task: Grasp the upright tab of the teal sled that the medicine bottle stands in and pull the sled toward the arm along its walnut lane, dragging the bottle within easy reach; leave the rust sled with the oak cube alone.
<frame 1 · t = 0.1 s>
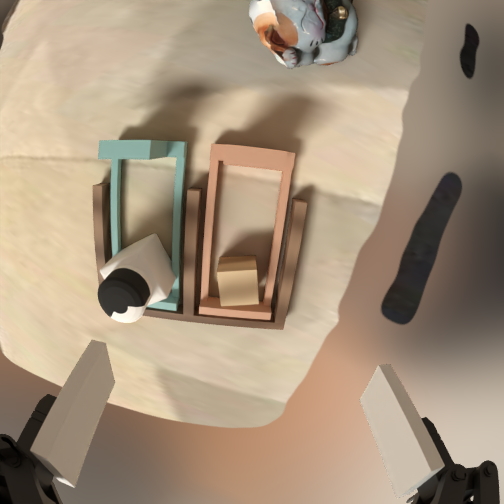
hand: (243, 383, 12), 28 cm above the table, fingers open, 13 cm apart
oak cube: (238, 272, 41), resting in sled b
lucky cat figurine: (302, 32, 29), on the table
sled a: (135, 233, 33), point 5 cm above the table, slide at 0.0 cm, touching medicine bottle
sled b: (243, 244, 34), point 5 cm above the table, slide at 0.0 cm
medicine bottle: (148, 261, 40), resting in sled a
lane rails: (147, 247, 39), on the table
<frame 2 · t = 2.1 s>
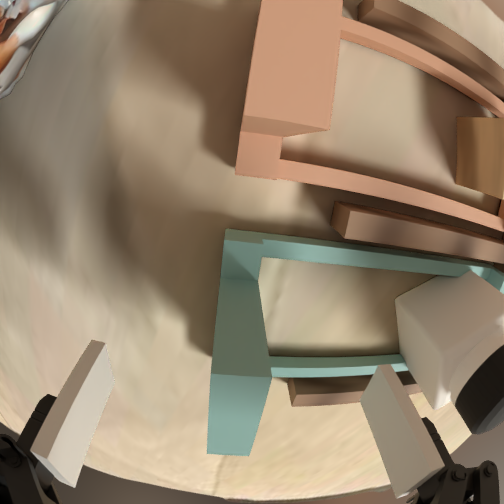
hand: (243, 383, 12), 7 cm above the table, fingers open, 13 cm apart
oak cube: (476, 154, 15), resting in sled b
lucky cat figurine: (24, 38, 10), on the table
sled a: (404, 352, 15), point 5 cm above the table, slide at 0.1 cm, touching medicine bottle
sled b: (472, 130, 10), point 5 cm above the table, slide at 0.0 cm
medicine bottle: (429, 310, 20), resting in sled a
lane rails: (412, 312, 20), on the table
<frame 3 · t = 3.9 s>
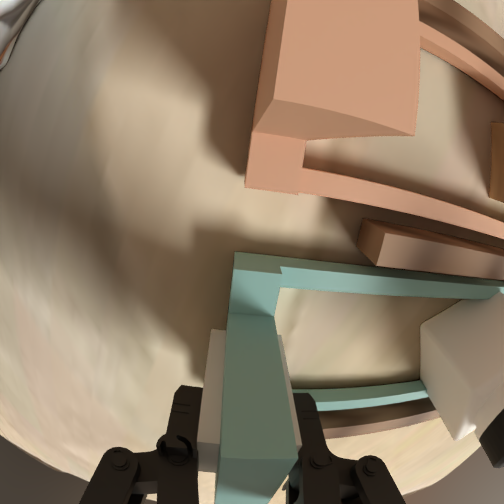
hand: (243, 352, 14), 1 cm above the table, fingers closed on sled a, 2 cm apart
lucky cat figurine: (11, 23, 8), on the table
sled a: (433, 388, 12), point 5 cm above the table, slide at 0.0 cm, touching gripper, medicine bottle
medicine bottle: (453, 333, 17), resting in sled a
lane rails: (436, 338, 17), on the table
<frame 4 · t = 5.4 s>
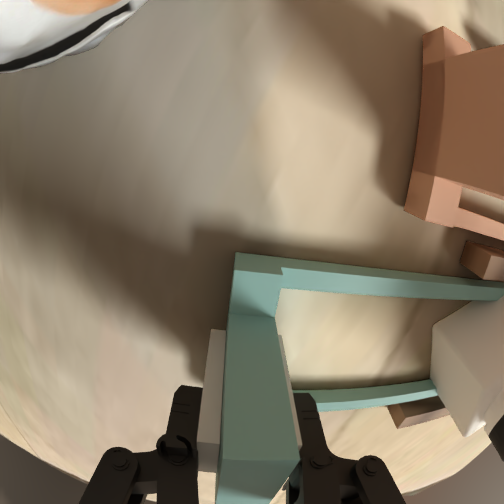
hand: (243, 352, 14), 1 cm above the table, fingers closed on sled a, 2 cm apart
sled a: (432, 389, 12), point 5 cm above the table, slide at 8.1 cm, touching gripper, medicine bottle
medicine bottle: (462, 334, 17), resting in sled a
lane rails: (491, 333, 17), on the table
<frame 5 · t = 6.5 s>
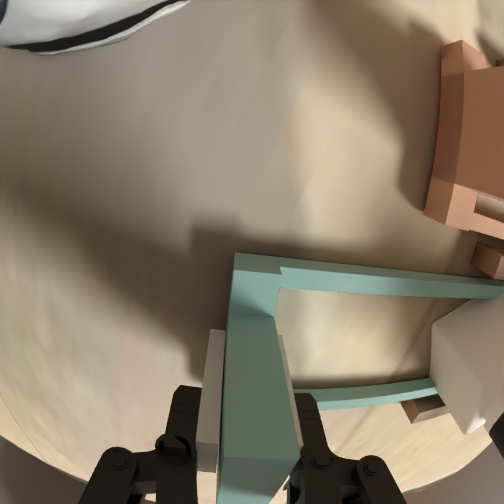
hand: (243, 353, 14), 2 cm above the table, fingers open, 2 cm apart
sled a: (432, 387, 12), point 5 cm above the table, slide at 9.7 cm, touching gripper, medicine bottle
medicine bottle: (461, 332, 17), resting in sled a
lane rails: (497, 330, 18), on the table
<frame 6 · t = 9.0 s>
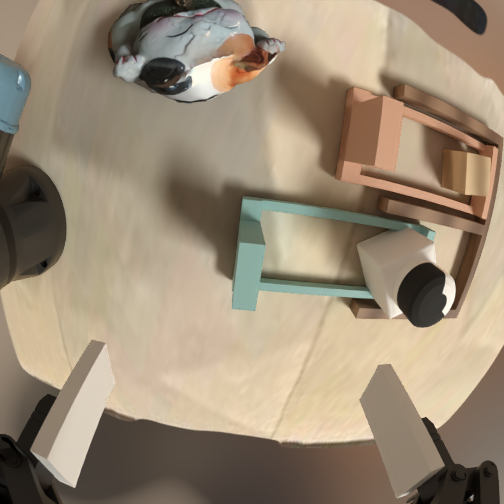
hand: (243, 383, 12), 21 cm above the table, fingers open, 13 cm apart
oak cube: (454, 169, 29), resting in sled b
lucky cat figurine: (197, 51, 24), on the table
sled a: (348, 268, 28), point 5 cm above the table, slide at 9.6 cm, touching medicine bottle
sled b: (447, 161, 24), point 5 cm above the table, slide at 0.0 cm
medicine bottle: (384, 257, 33), resting in sled a
lane rails: (419, 262, 33), on the table
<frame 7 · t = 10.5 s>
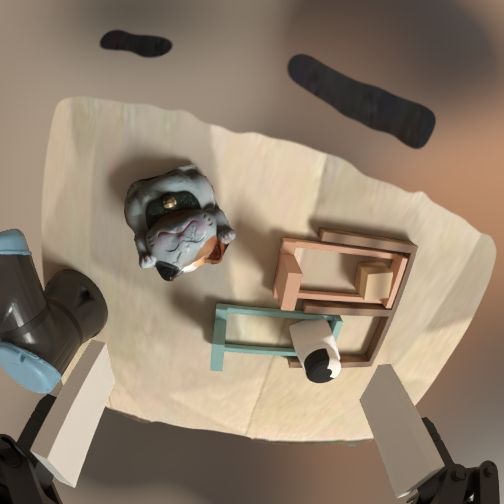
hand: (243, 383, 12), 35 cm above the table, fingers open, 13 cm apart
oak cube: (367, 274, 49), resting in sled b
lucky cat figurine: (184, 209, 44), on the table
sled a: (277, 346, 48), point 5 cm above the table, slide at 9.5 cm, touching medicine bottle
sled b: (348, 284, 44), point 5 cm above the table, slide at 0.0 cm
medicine bottle: (310, 331, 54), resting in sled a
lane rails: (337, 333, 54), on the table
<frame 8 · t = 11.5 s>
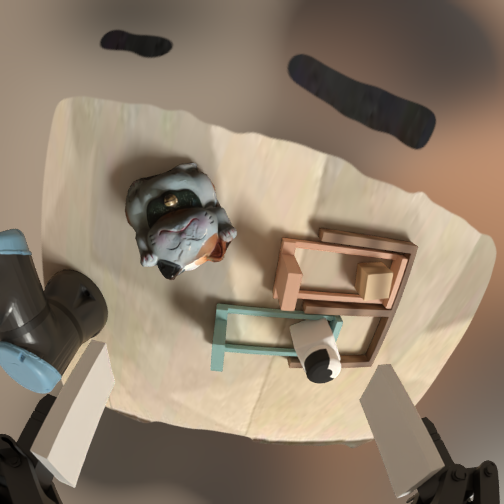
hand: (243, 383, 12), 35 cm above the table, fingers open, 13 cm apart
oak cube: (368, 274, 49), resting in sled b
lucky cat figurine: (185, 208, 44), on the table
sled a: (278, 346, 48), point 5 cm above the table, slide at 9.4 cm, touching medicine bottle
sled b: (348, 284, 44), point 5 cm above the table, slide at 0.0 cm
medicine bottle: (310, 331, 54), resting in sled a
lane rails: (337, 333, 54), on the table
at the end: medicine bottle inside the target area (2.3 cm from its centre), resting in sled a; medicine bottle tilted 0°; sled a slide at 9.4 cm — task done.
